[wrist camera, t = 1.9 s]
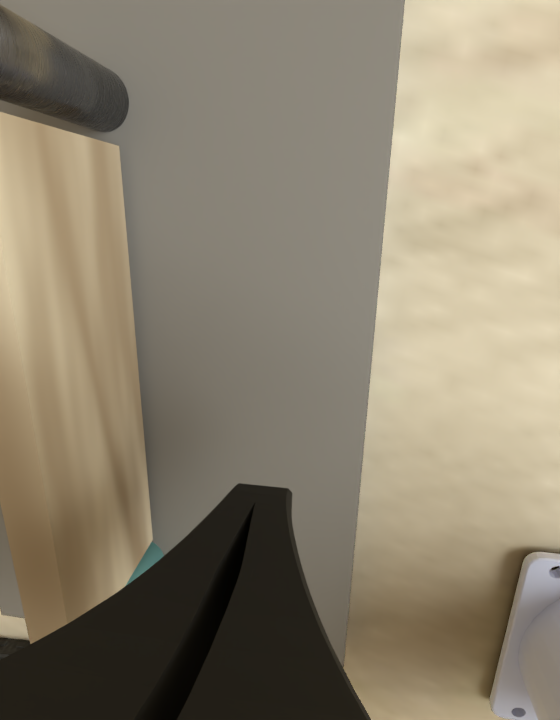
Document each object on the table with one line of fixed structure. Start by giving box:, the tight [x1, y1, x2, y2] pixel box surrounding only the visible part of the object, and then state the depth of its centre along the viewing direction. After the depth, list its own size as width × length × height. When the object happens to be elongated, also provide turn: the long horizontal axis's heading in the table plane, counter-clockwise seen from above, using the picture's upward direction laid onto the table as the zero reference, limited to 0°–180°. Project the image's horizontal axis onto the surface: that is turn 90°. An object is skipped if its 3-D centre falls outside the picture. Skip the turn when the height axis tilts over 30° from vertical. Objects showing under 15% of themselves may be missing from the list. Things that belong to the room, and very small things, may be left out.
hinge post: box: [0, 4, 129, 132], centre depth 10 cm, size 2×2×7 cm
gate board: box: [0, 0, 405, 667], centre depth 15 cm, size 15×24×1 cm, turn 179°
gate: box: [0, 112, 153, 644], centre depth 12 cm, size 1×13×5 cm, turn 179°
